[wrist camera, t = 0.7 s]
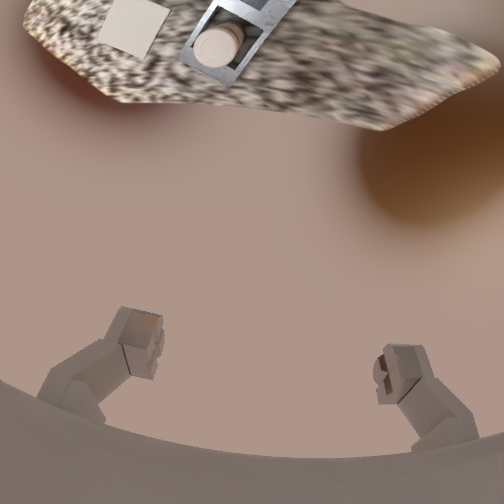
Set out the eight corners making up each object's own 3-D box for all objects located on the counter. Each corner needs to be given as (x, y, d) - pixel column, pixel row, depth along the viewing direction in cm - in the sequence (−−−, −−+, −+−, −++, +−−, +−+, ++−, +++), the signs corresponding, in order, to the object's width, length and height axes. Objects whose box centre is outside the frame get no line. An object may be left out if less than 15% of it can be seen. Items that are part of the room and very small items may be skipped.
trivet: (121, -10, 29) (119, -10, 29) (171, 9, 33) (170, 9, 32) (98, 39, 35) (96, 40, 35) (144, 58, 38) (143, 59, 38)
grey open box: (243, -33, 28) (240, -36, 25) (296, -2, 31) (299, -2, 28) (183, 53, 38) (176, 59, 35) (233, 80, 41) (230, 87, 38)
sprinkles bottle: (218, 51, 38) (197, 72, 29) (211, 23, 35) (187, 34, 25) (249, 45, 37) (240, 64, 28) (243, 17, 34) (231, 24, 25)
